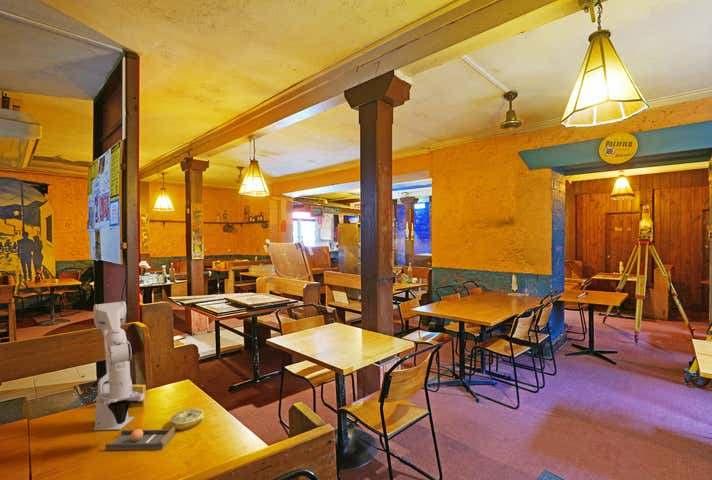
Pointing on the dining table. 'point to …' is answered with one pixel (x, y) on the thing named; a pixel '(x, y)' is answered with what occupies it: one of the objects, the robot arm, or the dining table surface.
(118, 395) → the robot arm
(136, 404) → the candy box
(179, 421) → the decorated donut
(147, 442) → the lane
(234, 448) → the dining table surface
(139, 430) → the ball
